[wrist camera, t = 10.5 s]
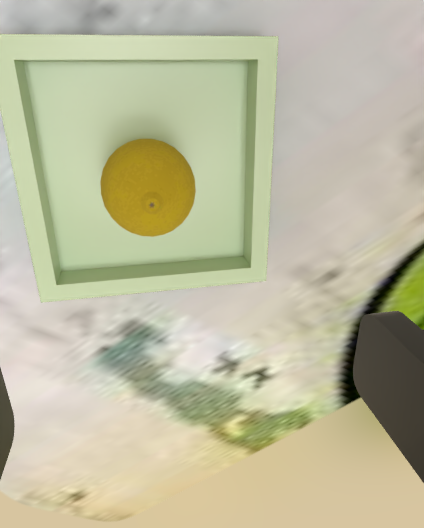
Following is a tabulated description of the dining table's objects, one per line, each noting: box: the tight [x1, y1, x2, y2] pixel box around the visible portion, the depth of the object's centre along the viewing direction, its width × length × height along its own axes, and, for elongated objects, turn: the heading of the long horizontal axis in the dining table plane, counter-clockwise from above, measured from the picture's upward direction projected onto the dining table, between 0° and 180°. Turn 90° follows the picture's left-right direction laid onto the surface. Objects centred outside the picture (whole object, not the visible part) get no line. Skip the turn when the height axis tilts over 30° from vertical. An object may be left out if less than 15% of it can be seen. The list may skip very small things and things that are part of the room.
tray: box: [0, 34, 279, 302], centre depth 27 cm, size 16×16×3 cm
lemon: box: [100, 139, 196, 237], centre depth 24 cm, size 6×6×8 cm
